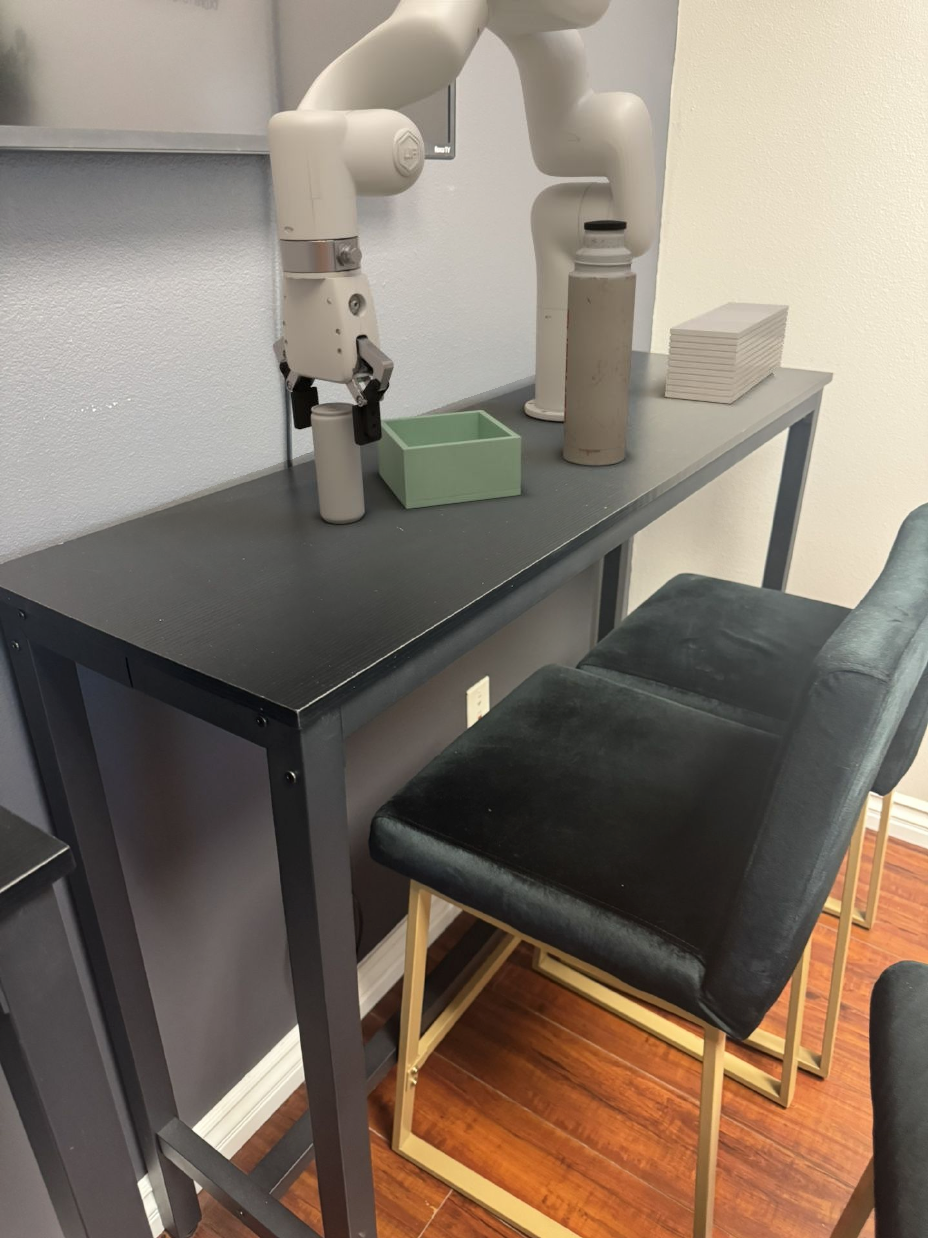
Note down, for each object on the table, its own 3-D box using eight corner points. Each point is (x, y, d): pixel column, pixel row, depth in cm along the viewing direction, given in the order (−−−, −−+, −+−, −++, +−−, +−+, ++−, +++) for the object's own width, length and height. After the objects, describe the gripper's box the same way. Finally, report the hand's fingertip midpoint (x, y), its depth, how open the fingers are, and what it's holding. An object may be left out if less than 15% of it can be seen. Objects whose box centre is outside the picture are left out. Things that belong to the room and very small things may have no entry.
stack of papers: (730, 403, 140) (738, 332, 135) (664, 397, 145) (670, 327, 140) (780, 366, 164) (788, 305, 159) (722, 361, 169) (729, 302, 164)
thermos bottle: (552, 460, 115) (558, 221, 102) (577, 445, 121) (586, 218, 108) (611, 469, 111) (625, 222, 99) (634, 452, 117) (649, 218, 105)
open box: (379, 474, 111) (375, 419, 108) (483, 462, 115) (482, 409, 112) (406, 509, 100) (403, 449, 96) (520, 495, 103) (521, 436, 100)
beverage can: (323, 527, 95) (312, 414, 89) (318, 512, 99) (307, 404, 94) (368, 522, 96) (360, 410, 91) (361, 507, 100) (353, 400, 95)
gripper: (412, 259, 83) (421, 440, 91) (295, 251, 93) (312, 414, 101) (351, 267, 78) (366, 457, 86) (235, 257, 89) (258, 428, 96)
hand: (337, 434), depth 94 cm, fingers open, 9 cm apart
